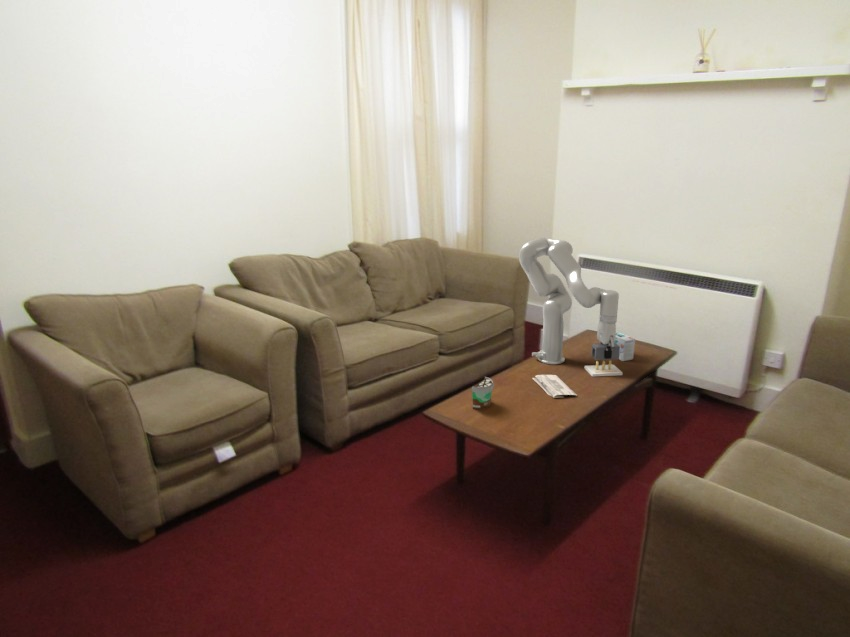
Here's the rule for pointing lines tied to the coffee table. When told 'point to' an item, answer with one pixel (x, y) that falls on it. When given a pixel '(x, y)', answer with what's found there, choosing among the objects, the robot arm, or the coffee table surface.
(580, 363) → the coffee table surface
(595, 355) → the block
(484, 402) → the food container
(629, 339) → the light bulb box
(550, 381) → the newspaper
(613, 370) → the board
